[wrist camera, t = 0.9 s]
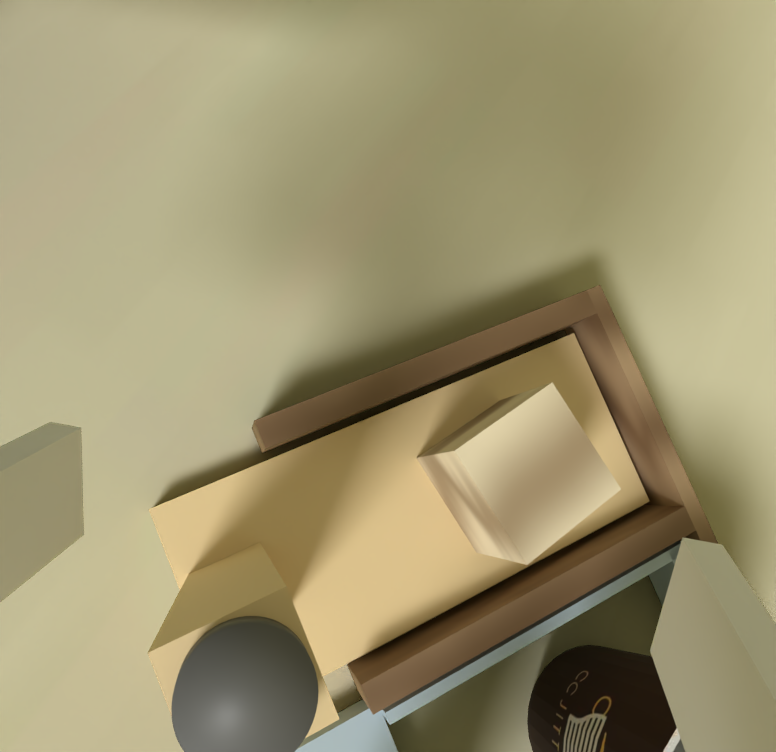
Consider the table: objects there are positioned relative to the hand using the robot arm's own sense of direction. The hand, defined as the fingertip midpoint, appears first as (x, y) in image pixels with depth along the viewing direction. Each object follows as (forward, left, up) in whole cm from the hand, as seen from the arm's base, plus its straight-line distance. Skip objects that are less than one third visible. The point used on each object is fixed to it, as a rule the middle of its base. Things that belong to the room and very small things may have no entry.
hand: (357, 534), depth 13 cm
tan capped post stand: (+2, +6, -15) cm, 16 cm away
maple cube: (+2, +9, -13) cm, 16 cm away
